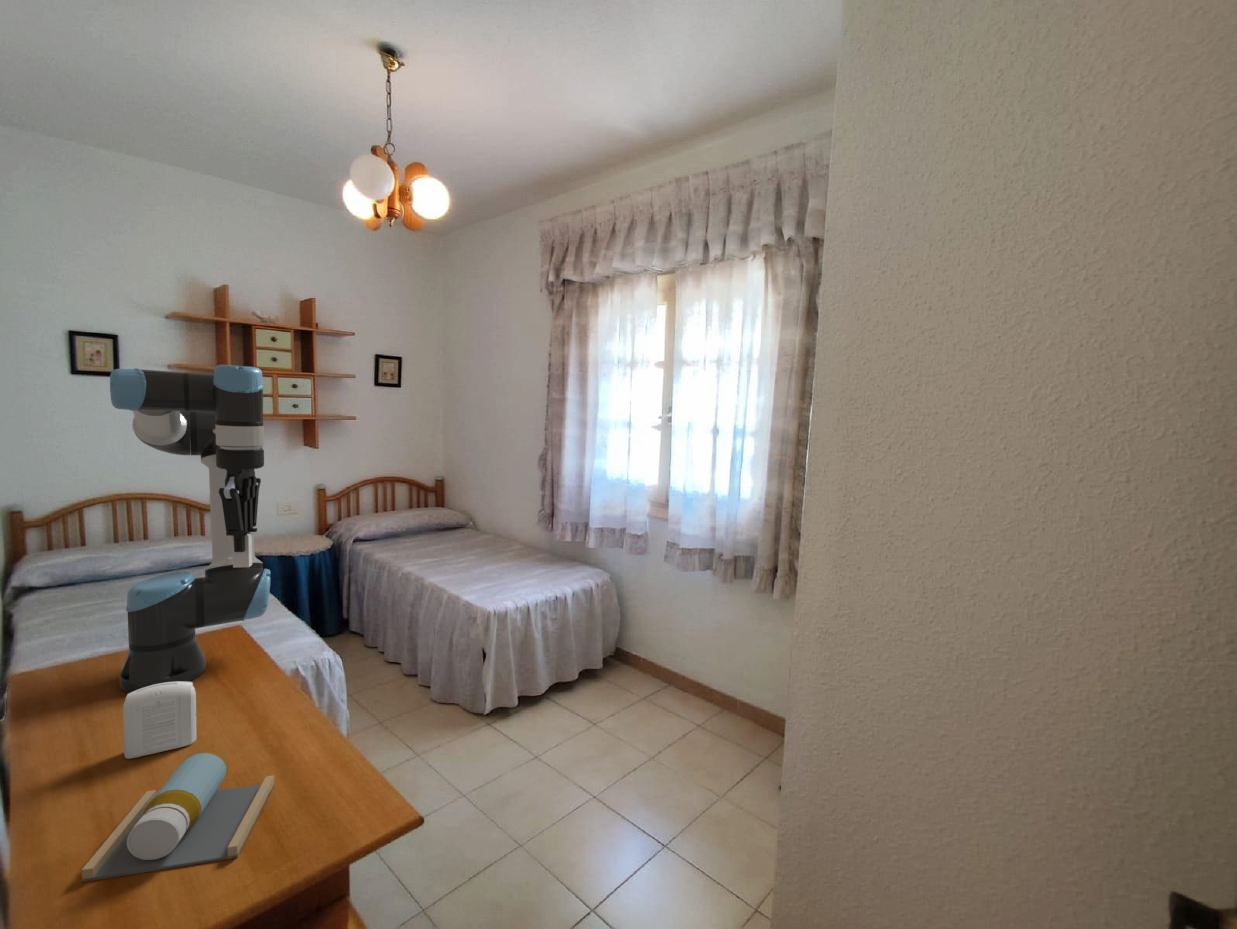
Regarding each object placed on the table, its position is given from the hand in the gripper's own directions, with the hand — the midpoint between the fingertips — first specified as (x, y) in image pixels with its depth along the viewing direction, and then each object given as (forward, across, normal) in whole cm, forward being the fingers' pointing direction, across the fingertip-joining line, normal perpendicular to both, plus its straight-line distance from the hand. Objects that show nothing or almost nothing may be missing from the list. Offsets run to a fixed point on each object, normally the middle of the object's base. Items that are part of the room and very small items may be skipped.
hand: (242, 566), depth 104 cm
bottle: (+28, +20, +2) cm, 35 cm away
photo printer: (+33, +7, -11) cm, 35 cm away
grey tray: (+32, +29, +3) cm, 43 cm away
